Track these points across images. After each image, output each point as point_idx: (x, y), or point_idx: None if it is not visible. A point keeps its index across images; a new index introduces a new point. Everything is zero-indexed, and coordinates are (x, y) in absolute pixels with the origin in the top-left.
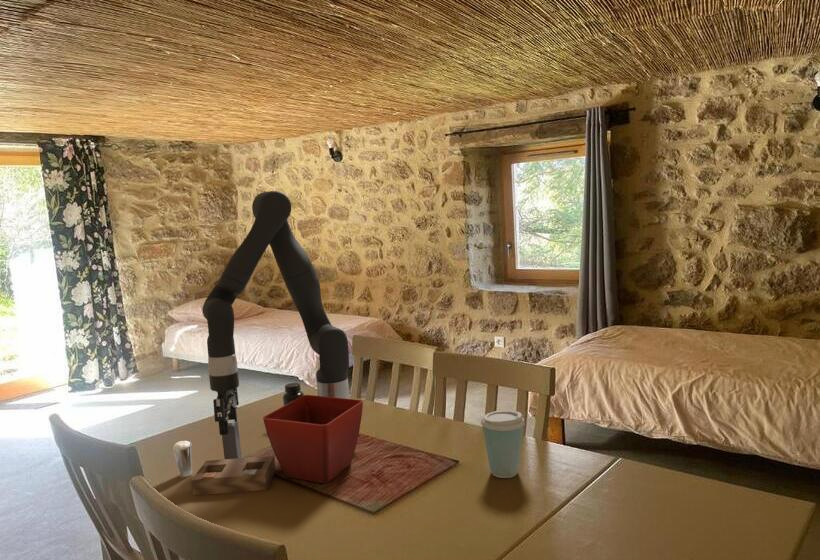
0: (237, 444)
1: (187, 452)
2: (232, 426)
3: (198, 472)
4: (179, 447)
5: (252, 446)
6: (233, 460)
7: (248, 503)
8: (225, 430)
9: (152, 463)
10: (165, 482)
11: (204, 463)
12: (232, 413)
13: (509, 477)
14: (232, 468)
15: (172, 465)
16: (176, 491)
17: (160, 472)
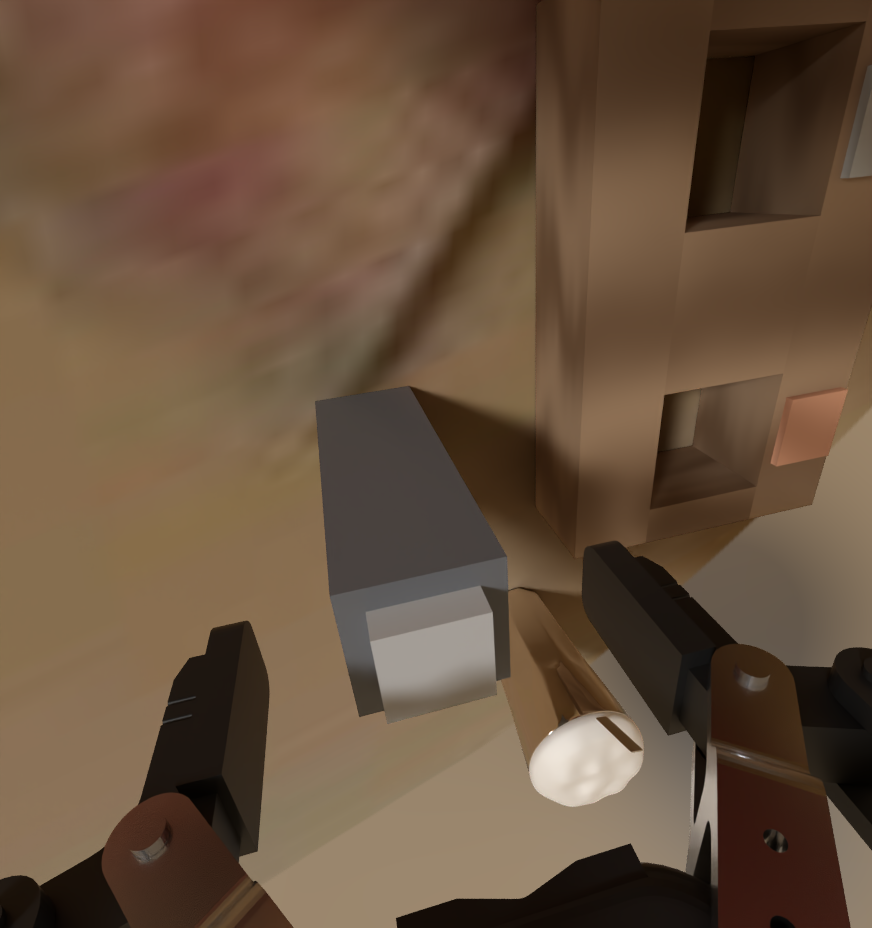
0: (404, 450)
1: (604, 689)
2: (505, 574)
3: (732, 515)
4: (643, 752)
5: (48, 423)
6: (614, 371)
7: None
8: (665, 577)
9: (370, 802)
10: None
11: None
12: (243, 765)
13: None
14: (751, 316)
15: (396, 722)
16: (678, 557)
17: (469, 722)
